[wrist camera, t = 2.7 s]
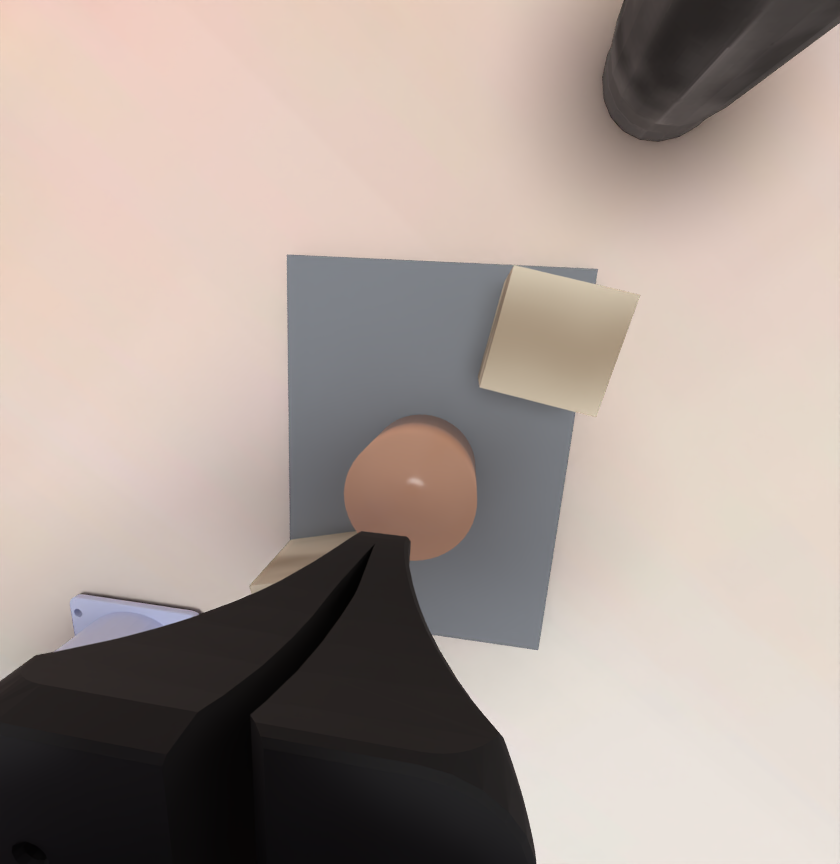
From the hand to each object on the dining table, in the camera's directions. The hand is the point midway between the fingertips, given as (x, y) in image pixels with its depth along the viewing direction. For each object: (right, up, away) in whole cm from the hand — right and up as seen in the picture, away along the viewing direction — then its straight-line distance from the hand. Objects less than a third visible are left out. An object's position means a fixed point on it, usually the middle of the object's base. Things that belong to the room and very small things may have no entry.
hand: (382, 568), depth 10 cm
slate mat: (+1, +2, +9) cm, 9 cm away
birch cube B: (+6, +7, +6) cm, 11 cm away
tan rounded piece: (+1, +2, +8) cm, 9 cm away
